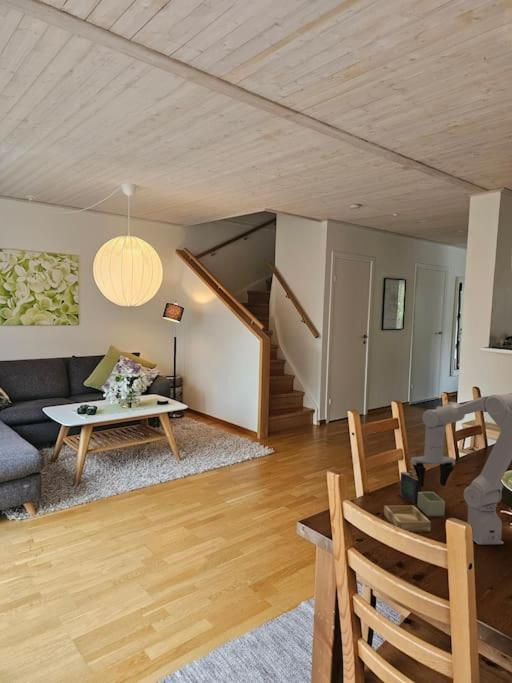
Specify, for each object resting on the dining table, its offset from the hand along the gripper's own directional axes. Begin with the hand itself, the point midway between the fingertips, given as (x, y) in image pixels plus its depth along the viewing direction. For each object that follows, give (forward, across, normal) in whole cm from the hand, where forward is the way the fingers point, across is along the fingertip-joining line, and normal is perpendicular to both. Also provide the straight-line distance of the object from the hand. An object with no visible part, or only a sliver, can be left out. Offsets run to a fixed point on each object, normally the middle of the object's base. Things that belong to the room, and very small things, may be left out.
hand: (431, 485), depth 151 cm
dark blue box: (+9, +3, -9) cm, 13 cm away
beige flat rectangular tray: (+9, +12, +8) cm, 17 cm away
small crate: (+9, 0, 0) cm, 9 cm away
